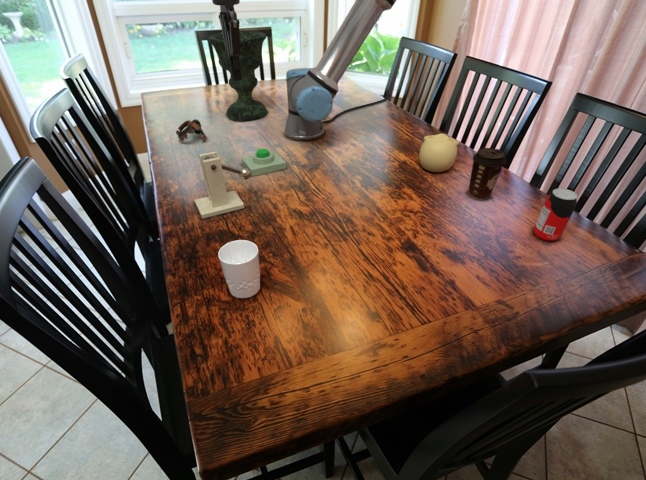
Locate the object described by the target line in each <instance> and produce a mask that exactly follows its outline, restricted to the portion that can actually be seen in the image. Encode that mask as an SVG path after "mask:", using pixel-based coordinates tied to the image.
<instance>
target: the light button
mask: <svg viewBox="0 0 646 480" xmlns="http://www.w3.org/2000/svg"><path fill="white" fill-rule="evenodd" d="M269 151H270V150H269V149H268V148H259V149H257V150H256V151H255V152H257V157H258V158H266V157H268V156H269Z"/></svg>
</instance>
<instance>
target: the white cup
mask: <svg viewBox="0 0 646 480" xmlns="http://www.w3.org/2000/svg"><path fill="white" fill-rule="evenodd" d="M217 256H218V259H219V264H220V266H221V270H222V274H223V276H224V279H225V282H226V284H227V288H228V291H229V293H230V295H231V296H233V297H235V298H237V299H248V298H251V297H253V296H256V294H258V292H259V291H260V289H261V267H260V256H259V247H258V245H257V244H256V243H254V242H252V241H251V240H246V239H236V240H231V241H229V242H227V243H225V244H224V245H222V246H221V247H220V248H219V251H218V254H217Z"/></svg>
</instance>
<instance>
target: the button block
mask: <svg viewBox="0 0 646 480" xmlns="http://www.w3.org/2000/svg"><path fill="white" fill-rule="evenodd" d="M241 163H242V165H243V168H248V169H249V170H250V172H251V176H250V177H254V176H259V175H264V174H269V173H272V172H277V171H282V170H286V169H287V162H286V161H285V160H284V158H282V156H280V154H279V153H277V151H275V150H273V151H270V150H269V156H268V157H266V158H258V157H257V152H256V151H255V152H253V153H252V155H250V156H243V157H241Z"/></svg>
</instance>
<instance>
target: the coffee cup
mask: <svg viewBox="0 0 646 480" xmlns="http://www.w3.org/2000/svg"><path fill="white" fill-rule="evenodd" d="M472 158H473V162H472V168H471V172H470V179H469V183H468V191H467V196H468V197H470V198H472V199H475V200H478V201H479V200H480V201H484V200H488V199H489V198H490V197H491V195H492V193H493V190H494V189H495V187H496V184H497V182H498V180H499V178H500V176H501V173H502V170H503V166H505V165H506V163H508V162H507V161H508V160H507V158H506V155H505V153H504V152H503V150H500V149H499V148H494V147H493V148H492V147H482V148H480V149H478V150H477V152H476V153H474V155H473V156H472Z"/></svg>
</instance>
